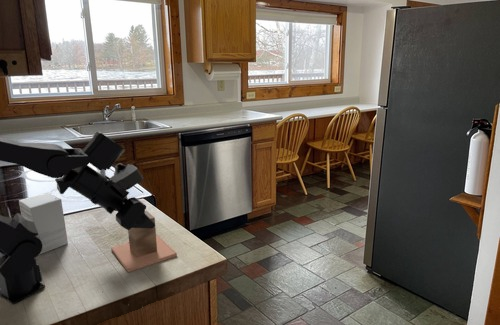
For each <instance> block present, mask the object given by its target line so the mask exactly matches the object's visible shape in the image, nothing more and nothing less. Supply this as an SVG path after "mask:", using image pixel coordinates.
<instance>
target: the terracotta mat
mask: <svg viewBox="0 0 500 325" xmlns="http://www.w3.org/2000/svg"><path fill="white" fill-rule="evenodd" d="M156 242H157V252H153V253H150V254H147V255H144V256H141V257H138V258H137V257H136V256H135V254H134V253H133V252H132V251H131V250H130V245H129V242H125V243H121V244H119V245H118V244H117V245H114V246H112V247H111V248H110V250H111V252H112V253H113V255H114V256H115V257H116V258H117V259H118V261H119V263H121V265H122V267H123V268H124V269H125V270H126V272H127V273H130V272H133V271H136V270H138V269H139V270H140V269H142V268H145V267H148V266H150V265H154V264H156V263H159V262H164V261H165V260H168V259H172V258H174V257H177V253H178V252H177V251H175V250H174V249H173V248H172V247H171V246H170V245H169V244H168V243H167V242H166V241H165V240H164V239H162V238H161V237H160V236H159V235H158V234H157V233H156Z"/></svg>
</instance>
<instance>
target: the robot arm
mask: <svg viewBox="0 0 500 325" xmlns="http://www.w3.org/2000/svg"><path fill="white" fill-rule="evenodd" d="M124 151H126V149H125V148H124V147H123V146H121V145H120V144H119V143H117V142H116V141H114V140H113V139H111V137H107V135H105V134H103V133H102V132H101V131H99V130H97V131H96V132H95V133H94V135H93V136H92V138H91V140H90V141H89V142H88V143H87V144H86V145H85V147H84V148H83V149H82V148H80V147H79V148H77V147H76V148H74V147H73V148H72V147H71V148H64V147H63V146H61V145H59V144H55V143H44V142H43V143H42V142H19V141H14V140H11V139H5V138H2V137H0V162H5V163H10V164H16V165H19V166H22V167H24V168H26V169H28V170H30V171H32V172H34V173H37V174H40V175H43V176H46V177H48V178H52V179H55V183H56V189H57V191H58V193H60V195H64V193H65V192H67V190H68V189H69V188H70V189H72V190H73V191H75V192H76V193H78V194H80V195H81V196H83V197H85V198H86V199H88V200H89V201H90V202H91V203H92V204H93V205H95V206H96V205H98V206H100V207H101V208H102V209H105V211H106V212H107V213H109V214H110V215H112V214H113V213H114V211H115V212H117V213H116V214H115V221H116V222H117V223H118V225H120V227H122V228H124V229H125V230H126V231H128V230H129V229H131V228H150V229H153V228H154V227H155V228H156V223H155V224H154V223H153V222H152V220H151V219H150V218H149V217H148V216H147V215H146V214H145V211H147V205H146V204H144V202H142V201H140V199H138V198H136V197H135V196H134V197H133V196H132V197H129V198H128V195H129V194H130V192H129V191H128V190H130V189H131V188H133V187H135V186H136V185H137V184H140V183H142V182H143V181H144V177H143V175H142V173H141V172H140V170H139V169H138V168H137V167H136V166H135V165H133V164H129V163H128V164H127V165H125V164H123V163H121V162H119V163H117V164H116V165H114V164H115V163H116V161H117V160H118V159H119V158H120V157H121V156H122V154H123V153H124ZM89 164H90V165H92V166H93V167H94V168H96V169H97V170H99V171H101V172H102V171H103V170H104V171H105V172H106V171H107V170H110V169H111V168H112V166H113V165H114V173H113V175H112V176H110V177H109V176H108V175H103V174H101V173H100V172H98V171H97V170H95V169H94V168H93V167H91V166H89ZM41 251H42V241H41V239H40V236H39V233H38V230H37V229H36V226H35V224H34V222H32V221H28V220H26V219H25V218H23V217H22V215H21V213H18V212H17V213H16V214H15V215H14V216H13V217H9V216H8V217H7V216H4V215H1V214H0V297H2V298H3V299H4V300H6V301H7V302H9V303H10V304H17V303H19V302H20V301H22V300H25V299H26V298H28V297H30V296H32V295H34V294H36V293H37V292H39V291H42V290H43V289H45V287H46V285H45V284H44V283H42V282H43V281H42V280H43V277H42V271H41V266H40V264H38V263H37V259H36V258H37V257H38V256H39V255H41V254H40V253H41Z"/></svg>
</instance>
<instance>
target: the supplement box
mask: <svg viewBox="0 0 500 325" xmlns="http://www.w3.org/2000/svg"><path fill="white" fill-rule="evenodd" d="M18 205H19V210H20V215H21V216H22V217H23V218H25V219H26V220H28V221H32V222H34V224H35V226H36V229H37V230H38V233H39V236H40V239H41V241H42V251H41V253H40V254H39V255H43V254H45V253H47V252H50V251H53V250H54V249H57V248H60V247H62V246H65V245H68V243H69V241H68V235H67V228H66V223H65V215H64V208H63V201H62V199H61V198H60V197H58V196H57V195H54V194H52V193H50V192H45V193H42V194H38V195H33V196H30V197H27V198H23V199H19V200H18Z"/></svg>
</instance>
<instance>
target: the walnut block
mask: <svg viewBox="0 0 500 325" xmlns="http://www.w3.org/2000/svg"><path fill="white" fill-rule="evenodd" d="M145 214H146V215H147V216H148V217H149V218H150V219H151V220H152V222H153V223H154V224H155V225H156V217H155V216H153V214H151V212H149V210H145ZM127 233H128V241H129V245H130V250H131V251H132V252H133V253H134V254H135V256H136V257H137V258H138V257H141V256H144V255H147V254H150V253H153V252H157V242H156V234H157V229H156V226H155V227H154V228H153V229H150V228H131V229H129V230H127Z"/></svg>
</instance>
